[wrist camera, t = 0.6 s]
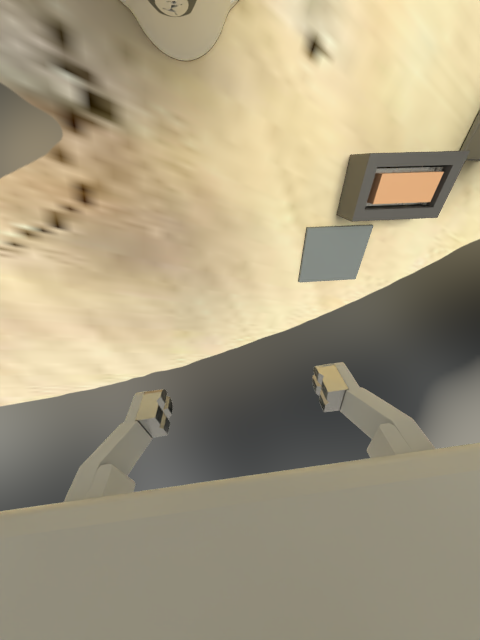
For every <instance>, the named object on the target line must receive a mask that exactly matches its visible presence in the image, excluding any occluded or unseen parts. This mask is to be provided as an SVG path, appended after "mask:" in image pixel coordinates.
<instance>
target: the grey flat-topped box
mask: <svg viewBox="0 0 480 640" xmlns="http://www.w3.org/2000/svg"><path fill="white" fill-rule="evenodd" d="M460 151H470V152H469V154H468V156H467V158H466V160H476V161H480V111H479V113H478V115H477V117H476V119H475V121H474V123H473V125H472V127H471V129H470V131H469V133H468V136H467V138H466V140H465V142H464V144H463V146H462V148H461V150H460Z"/></svg>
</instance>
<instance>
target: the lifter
mask: <svg viewBox="0 0 480 640" xmlns="http://www.w3.org/2000/svg"><path fill="white" fill-rule="evenodd" d="M435 168H436V169H435ZM442 169H443V167H413V168H379V169H377V170H376V173H397V172H429V171H437V172H441V171H442ZM420 203H421V204H423V205H426V204H427V202H418V203H392V204H370V203H366V206H383V205H408V204H420Z"/></svg>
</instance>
